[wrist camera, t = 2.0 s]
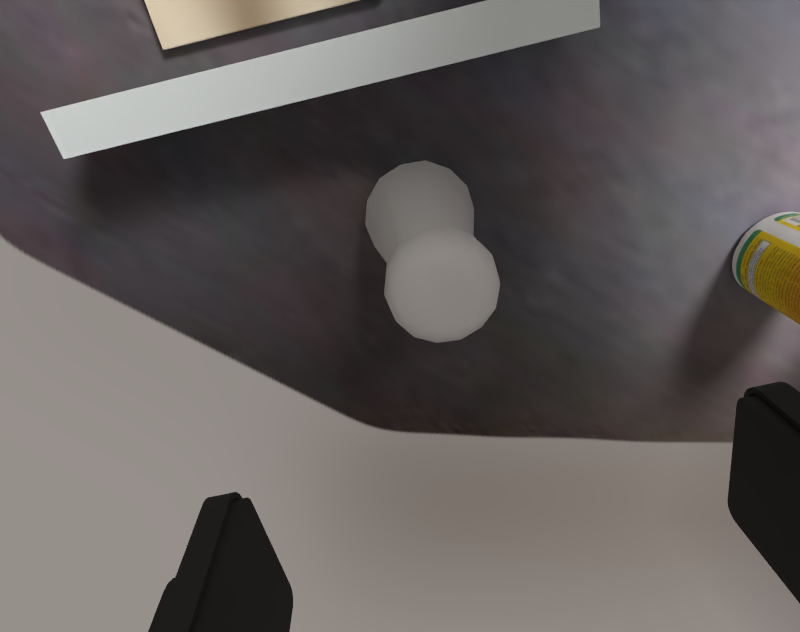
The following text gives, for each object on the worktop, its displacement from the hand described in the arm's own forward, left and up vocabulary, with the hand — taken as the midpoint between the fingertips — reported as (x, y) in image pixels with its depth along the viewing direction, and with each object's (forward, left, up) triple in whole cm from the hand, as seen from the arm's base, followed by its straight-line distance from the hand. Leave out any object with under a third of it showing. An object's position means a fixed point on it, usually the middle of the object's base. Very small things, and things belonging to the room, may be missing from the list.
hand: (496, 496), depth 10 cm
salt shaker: (0, 0, -23) cm, 23 cm away
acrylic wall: (+3, -8, -22) cm, 24 cm away
